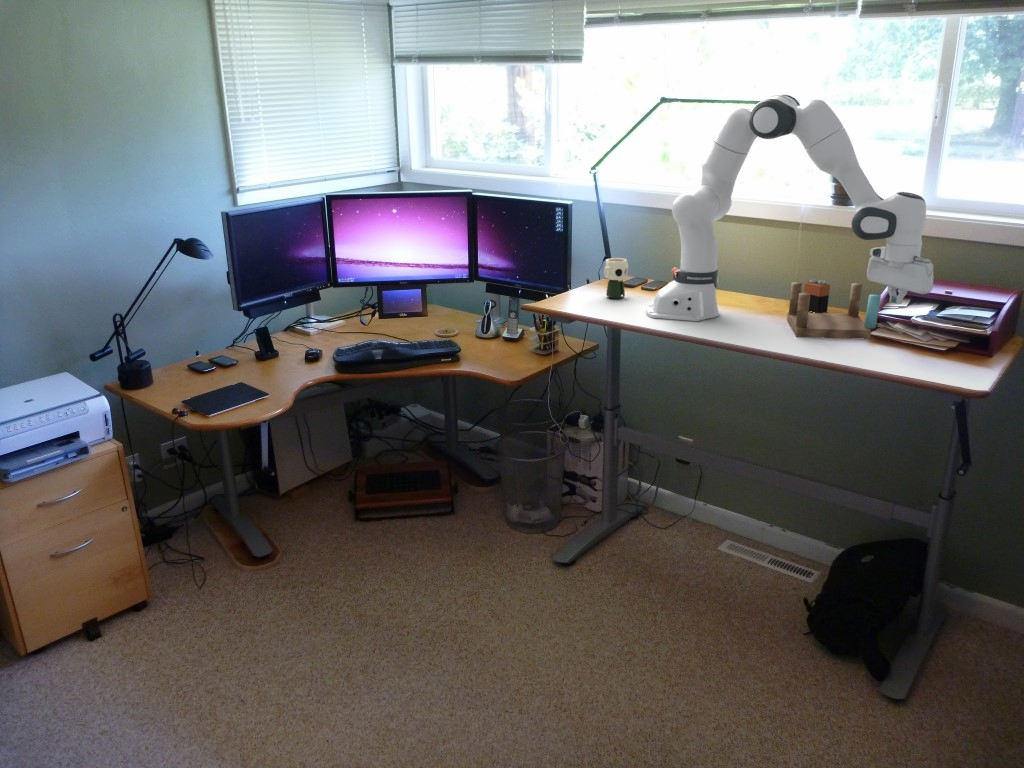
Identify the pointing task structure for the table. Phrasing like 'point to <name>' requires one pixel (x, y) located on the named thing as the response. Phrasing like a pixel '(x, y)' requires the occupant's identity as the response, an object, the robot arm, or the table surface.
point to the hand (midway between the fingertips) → (895, 303)
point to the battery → (817, 295)
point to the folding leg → (872, 311)
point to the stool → (825, 317)
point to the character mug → (616, 276)
